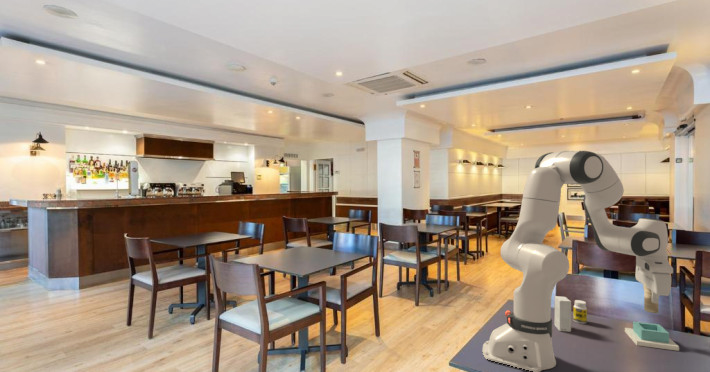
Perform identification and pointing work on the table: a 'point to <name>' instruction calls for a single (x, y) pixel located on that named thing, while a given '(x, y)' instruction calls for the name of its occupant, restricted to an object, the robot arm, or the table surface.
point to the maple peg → (649, 301)
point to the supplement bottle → (580, 312)
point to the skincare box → (563, 313)
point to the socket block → (651, 336)
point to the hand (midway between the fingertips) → (651, 300)
